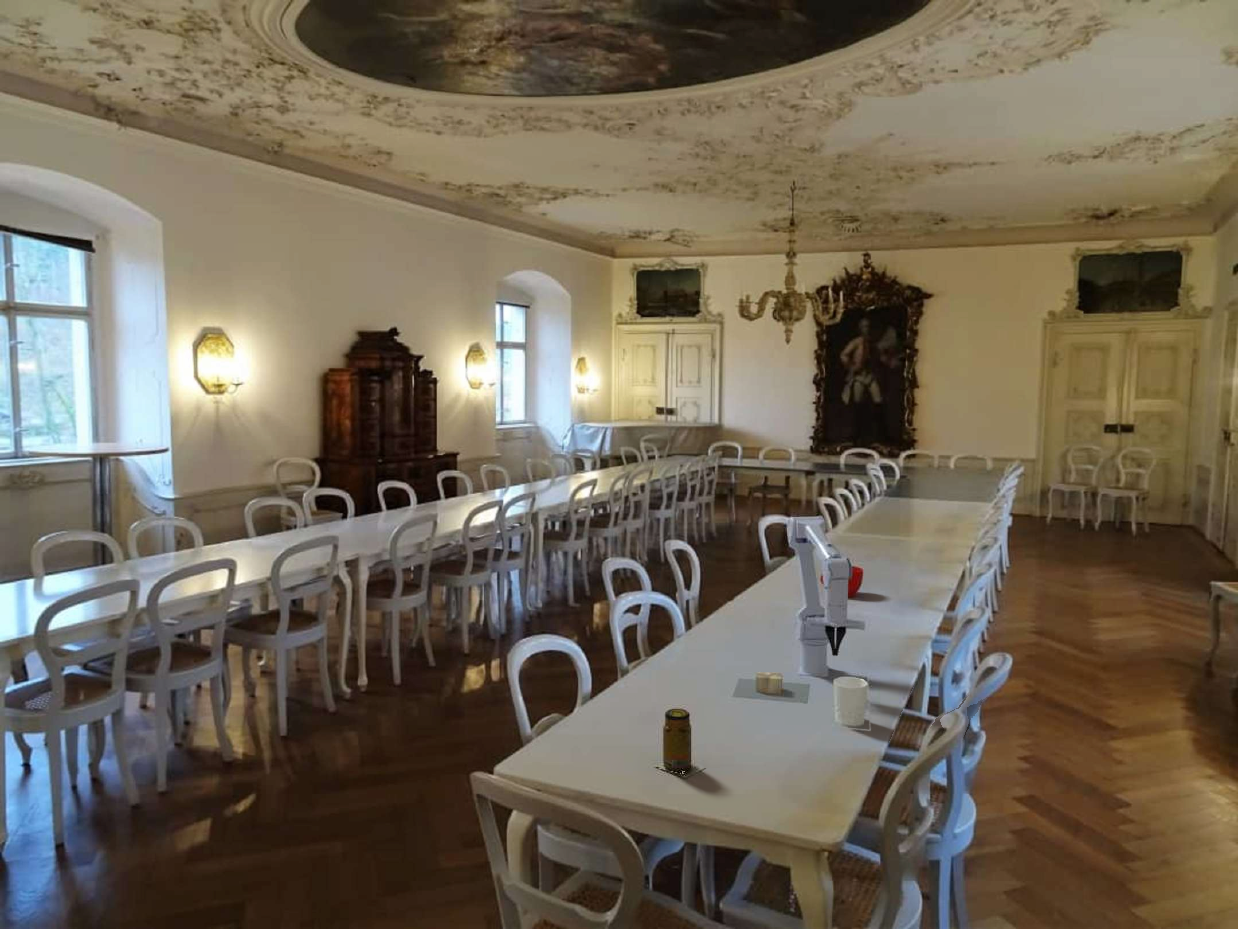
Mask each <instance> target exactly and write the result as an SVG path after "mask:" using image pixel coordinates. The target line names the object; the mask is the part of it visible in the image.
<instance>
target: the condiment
mask: <svg viewBox="0 0 1238 929" xmlns="http://www.w3.org/2000/svg"><path fill="white" fill-rule="evenodd" d="M664 717H665V718H664V724H663V726H662V742H663V743H662V754H663V756H662V762H663V763H664V764H660V763H658V764H656V765H654V766H653V767H654V768H656V767H659V766H661V765H663V766H664V767H665V769H666V771H670V772H668V773H670V774H672V775H675V776H677V777H682V778H684V779H686V778H688V777H691V776H693V775H695V774H698V772H700V771H702V770H704V769H705V768H707V767H706V766H704V765H701V764H699V763H696V762H692V724H691V723H690V722H691V718H690V717H691V714H690V712H689V711H688V710H687V709H684V708H677V707H676V708H671V709H667V710H666V711H665V714H664ZM693 766H694V767H693ZM691 767H693V768H691ZM661 769H663V768H658V770H661ZM663 770H664V769H663ZM663 770H662V771H663ZM666 771H665V772H666ZM671 771H673V772H671ZM682 771H685V772H683V773H684V774H682ZM675 772H677V773H675ZM680 773H681V774H680Z"/></svg>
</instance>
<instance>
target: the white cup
mask: <svg viewBox="0 0 1238 929" xmlns="http://www.w3.org/2000/svg"><path fill="white" fill-rule="evenodd" d="M868 685H869V684H868V682H867V681H866V680H865V679H863V678H860V677H857V676H856V677H855V676H839V677H836V678H834V679H833V698H834V699H833V701H834V702H833V703H834V714H835V715H834V716H835V717H834V719H835V722H836V723H838V724H840V725H842V726H846V727H861V726H862V725H864V724H865V718H866V710H867V709H866V708H867V698H868Z"/></svg>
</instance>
